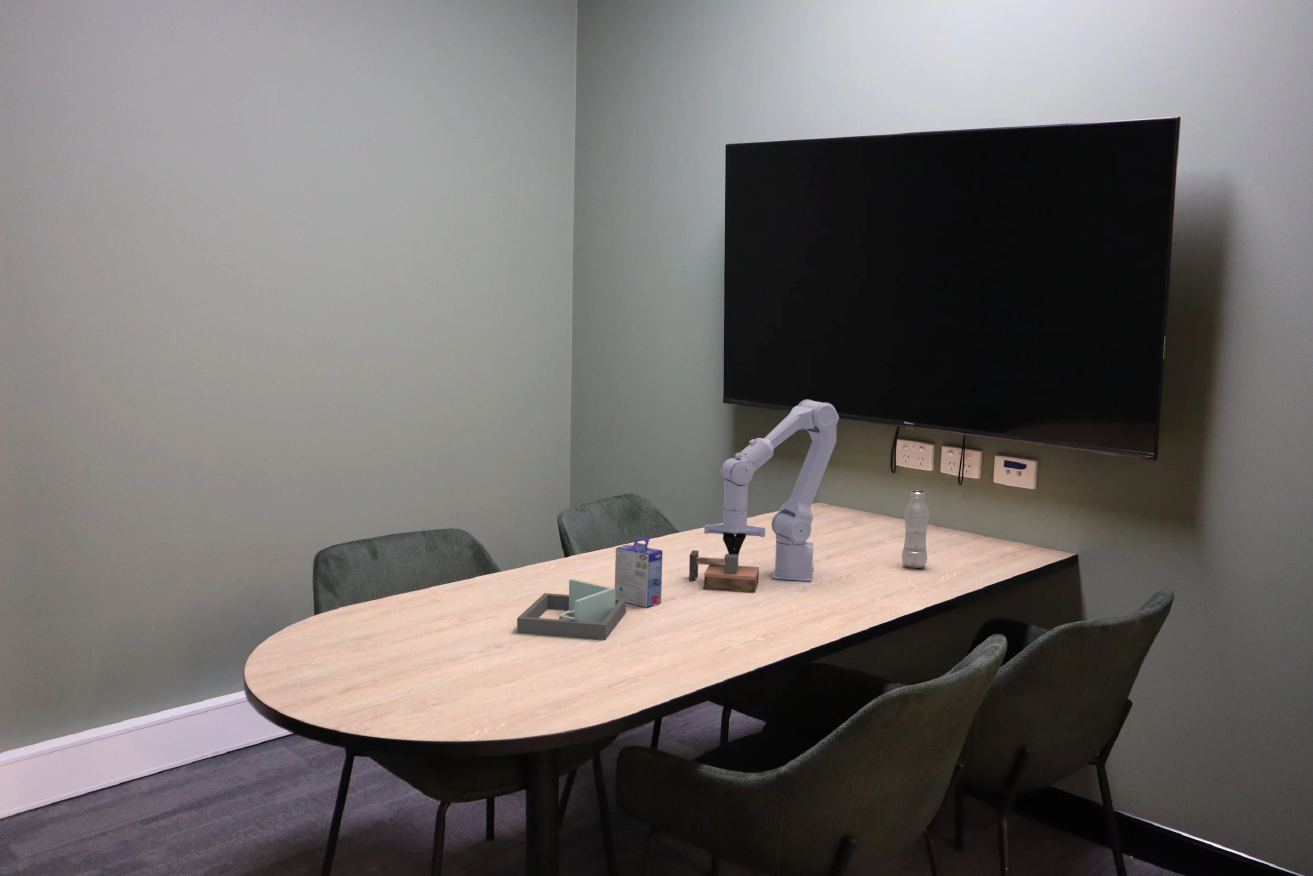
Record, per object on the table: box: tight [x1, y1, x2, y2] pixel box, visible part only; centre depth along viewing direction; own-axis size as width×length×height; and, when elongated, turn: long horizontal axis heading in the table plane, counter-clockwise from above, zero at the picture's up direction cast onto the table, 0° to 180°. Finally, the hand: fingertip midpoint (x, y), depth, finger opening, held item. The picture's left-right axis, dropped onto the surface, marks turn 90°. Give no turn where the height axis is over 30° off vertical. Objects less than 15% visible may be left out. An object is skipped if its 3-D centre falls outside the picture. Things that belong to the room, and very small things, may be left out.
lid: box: [703, 553, 760, 580], centre depth 238 cm, size 12×9×6 cm
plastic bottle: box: [901, 489, 930, 569], centre depth 258 cm, size 6×7×20 cm
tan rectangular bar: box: [696, 556, 724, 566], centre depth 243 cm, size 8×2×1 cm, turn 79°
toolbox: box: [688, 550, 760, 594], centre depth 240 cm, size 16×10×7 cm, turn 79°
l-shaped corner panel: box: [558, 578, 615, 623], centre depth 209 cm, size 12×12×8 cm
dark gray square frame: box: [516, 592, 627, 641], centre depth 209 cm, size 18×18×3 cm
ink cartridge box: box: [614, 535, 663, 608], centre depth 224 cm, size 10×6×14 cm, turn 53°
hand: (733, 564), depth 242 cm, fingers closed
